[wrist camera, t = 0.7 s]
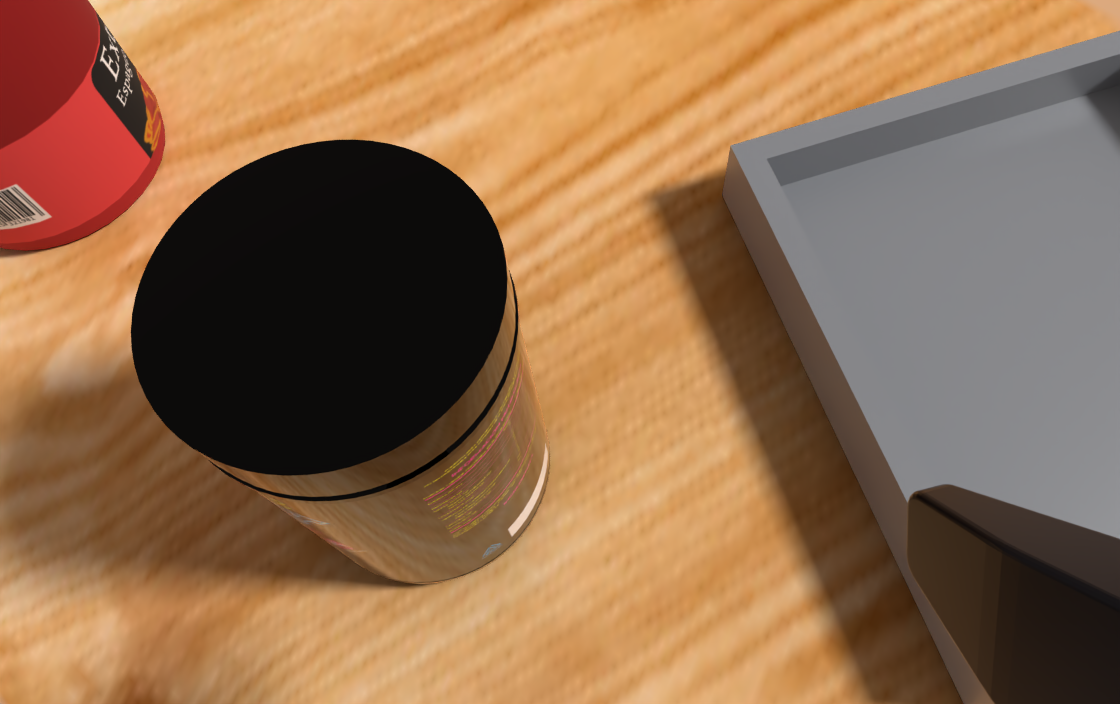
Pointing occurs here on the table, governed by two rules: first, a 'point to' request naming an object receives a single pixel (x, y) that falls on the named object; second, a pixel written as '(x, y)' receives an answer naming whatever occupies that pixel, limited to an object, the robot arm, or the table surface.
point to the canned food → (69, 125)
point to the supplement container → (351, 355)
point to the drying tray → (957, 288)
